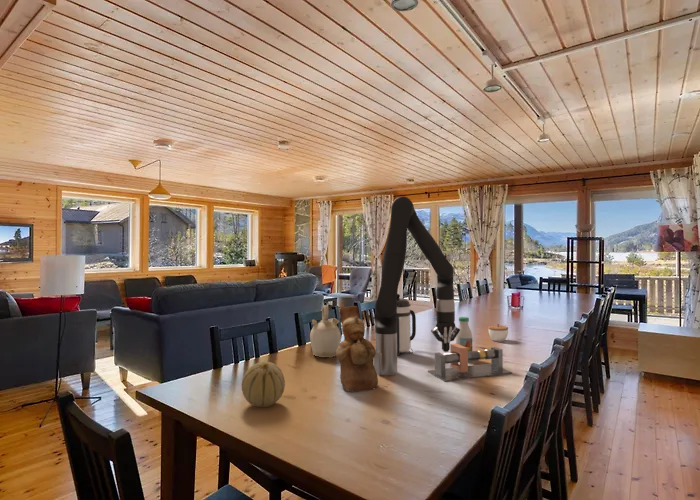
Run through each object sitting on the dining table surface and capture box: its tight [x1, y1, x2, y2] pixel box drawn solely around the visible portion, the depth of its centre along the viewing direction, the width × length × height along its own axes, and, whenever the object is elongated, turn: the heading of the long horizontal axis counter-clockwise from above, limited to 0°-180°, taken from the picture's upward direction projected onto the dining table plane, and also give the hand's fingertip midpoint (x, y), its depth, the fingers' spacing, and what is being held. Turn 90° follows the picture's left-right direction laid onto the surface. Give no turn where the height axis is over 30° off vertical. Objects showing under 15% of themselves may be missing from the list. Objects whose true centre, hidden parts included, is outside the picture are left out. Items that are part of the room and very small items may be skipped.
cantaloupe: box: [241, 361, 286, 408], centre depth 142 cm, size 15×15×15 cm
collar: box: [449, 343, 469, 372], centre depth 175 cm, size 3×8×10 cm, turn 18°
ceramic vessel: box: [335, 305, 379, 392], centre depth 164 cm, size 16×22×30 cm
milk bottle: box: [455, 316, 473, 351], centre depth 197 cm, size 8×8×20 cm
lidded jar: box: [488, 323, 509, 343], centre depth 237 cm, size 11×11×9 cm
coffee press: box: [397, 293, 417, 357], centre depth 212 cm, size 17×16×30 cm
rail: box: [427, 346, 513, 383], centre depth 176 cm, size 32×14×9 cm, turn 108°
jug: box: [309, 304, 341, 358], centre depth 208 cm, size 15×16×25 cm
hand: (445, 351), depth 173 cm, fingers closed
